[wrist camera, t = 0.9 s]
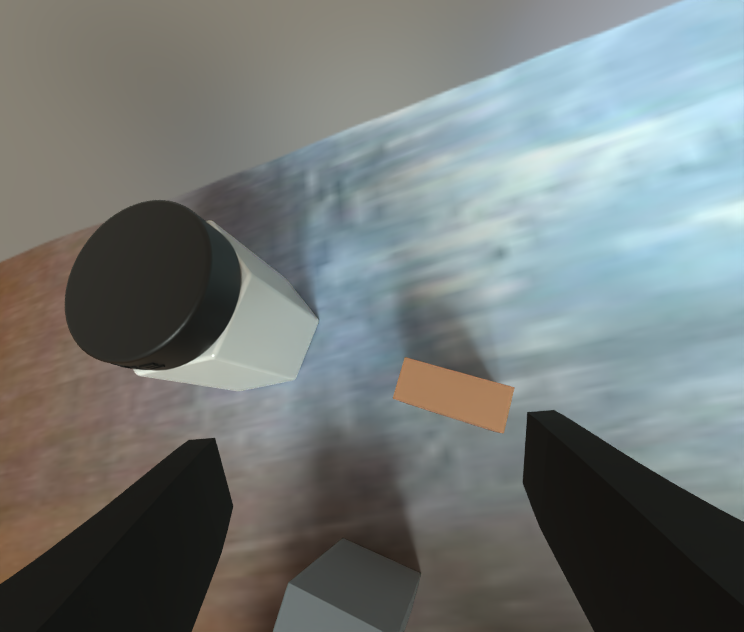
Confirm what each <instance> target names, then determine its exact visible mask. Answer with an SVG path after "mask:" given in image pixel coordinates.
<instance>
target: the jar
mask: <svg viewBox="0 0 744 632" xmlns="http://www.w3.org/2000/svg"><path fill="white" fill-rule="evenodd" d="M65 315H66V321H67V324H68V328H69V330H70V333H71V335H72V337H73V338H74V340H75V341H76V343H77V344H78V345H79V347H80V348H81V349H82V350H83V351H85V352H86V353H87V354H88V355H90V356H92V357H93V358H95V359H98V360H100V361H103V362H107V363H111V364H114V365H118V366H120V367H125V368H130V369H133V370H134V372H135V373H136V375H138V376H143V377H150V378H156V379H163V380H169V381H175V382H182V383H188V384H194V385H201V386H207V387H214V388H220V389H226V390H233V391H244V390H248V389H253V388H258V387H263V386H268V385H273V384H278V383H283V382H288V381H293V380H295V379H296V377H297V375H298V372H299V370H300V367H301V365H302V362H303V360H304V357H305V355H306V352H307V350H308V347H309V345H310V342H311V340H312V337H313V335H314V332H315V330H316V328H317V325H318V322H319V320H318V318H317V317H316V316H315V314H314V313H313V312H312V311H311V309H310V308H309V307H308V306H307V304H306V303H305V302H304V301H303V299H302V298H301V297H300V295H299V294H298V293H297V292H296V290H295V289H294V288H293V287H292V285H291V284H290V283H289V282H288V280H287V279H286V278H284V277H283V276H282V275H281V274H279V273H278V272H277V271H276V270H274V269H273V268H272V267H270V266H269V265H268V264H267V263H265V262H264V261H263V260H262V259H260V258H259V257H258V256H257V255H255V254H254V253H253V252H251V251H250V250H249V249H248V248H246V247H245V246H244V245H243V244H241V243H240V242H239V241H237V240H236V239H235V238H234V237H232V236H231V235H230V234H229V233H227V232H226V231H225V230H224V229H222V228H221V227H220V226H218V225H217V224H216V223H215V222H213V221H211V220H208V221H205V220H203V219H202V218H201V217H200V216H198V215H197V214H196V213H194V212H193V211H192V210H190V209H189V208H187V207H185V206H183V205H181V204H179V203H176V202H172V201H165V200H153V201H146V202H141V203H138V204H135V205H133V206H130V207H128V208H126V209H124V210H122V211H120V212H119V213H117V214H115V215H114V216H112V217H111V218H110V219H108V220H107V221H106V222H105V223H104V224H102V225H101V226H100V227H99V228H98V229H97V230H96V231H95V233H94V234H93V235H92V236H91V237H90V238H89V240H88V241H87V242H86V244H85V245H84V247H83V248H82V250H81V251H80V253H79V255H78V257H77V259H76V261H75V263H74V265H73V267H72V270H71V273H70V276H69V279H68V283H67V287H66V294H65Z"/></svg>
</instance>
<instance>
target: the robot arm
mask: <svg viewBox="0 0 744 632" xmlns="http://www.w3.org/2000/svg"><path fill="white" fill-rule="evenodd" d="M523 485H524V488H525V490H526V493H527V496H528V498H529V501H530V504H531V506H532V509H533V512H534V514H535V517H536V519H537V522H538V524H539V527H540V529H541V531H542V533H543V535H544V536H545V538H546V540H547V542H548V544H549V546H550V548H551V550H552V552H553V554H554V556H555V558H556V560H557V562H558V564H559V565H560V567H561V569H562V571H563V573H564V575H565V577H566V579H567V581H568V582H569V584H570V586H571V588H572V590H573V592H574V594H575V596H576V598H577V600H578V601H579V603H580V605H581V607H582V609H583V611H584V613H585V615H586V617H587V618H588V620H589V622H590V624H591V626H592V628H593V630H594V632H744V522H743V521H741V520H739V519H737V518H735V517H733V516H731V515H730V514H728V513H726V512H724V511H722V510H720V509H718V508H716V507H715V506H713V505H711V504H709V503H707V502H706V501H704V500H702V499H700V498H698V497H697V496H695V495H693V494H691V493H690V492H688V491H686V490H684V489H682V488H681V487H679V486H677V485H675V484H674V483H672V482H670V481H668V480H667V479H665V478H663V477H662V476H660V475H658V474H657V473H655V472H653V471H652V470H650V469H648V468H647V467H645V466H643V465H642V464H640V463H638V462H637V461H635V460H634V459H632V458H630V457H629V456H627V455H625V454H624V453H622V452H621V451H619V450H618V449H616V448H614V447H613V446H611V445H610V444H608V443H606V442H605V441H603V440H602V439H600V438H599V437H597V436H595V435H594V434H592V433H591V432H589V431H588V430H586V429H585V428H583V427H581V426H580V425H578V424H577V423H575V422H573V421H572V420H570V419H569V418H567V417H565V416H564V415H562V414H560V413H558V412H557V411H555V410H549V411H537V412H527V426H526V441H525V456H524V471H523ZM232 510H233V503H232V500H231V496H230V492H229V488H228V485H227V481H226V477H225V473H224V470H223V466H222V462H221V458H220V455H219V451H218V447H217V444H216V440H215V438H208V439H196V440H188V441H187V442H186V443H184V444H183V445H181V446H180V447H179V448H177V449H176V450H175V451H173V452H172V453H171V454H170V455H168V456H167V457H166V458H165V459H163V460H162V461H161V462H160V463H158V464H157V465H156V466H155V467H154V468H152V469H151V470H150V471H149V472H147V473H146V474H145V475H144V476H143V477H141V478H140V479H139V480H138V481H136V482H135V483H134V484H133V485H131V486H130V487H129V488H128V489H126V490H125V491H124V492H123V493H122V494H120V495H119V496H118V497H117V498H115V499H114V500H113V501H112V502H110V503H109V504H108V505H107V506H105V507H104V508H103V509H102V510H100V511H99V512H98V513H97V514H95V515H94V516H93V517H91V518H90V519H89V520H87V521H86V522H85V523H83V524H82V525H81V526H79V527H78V528H77V529H75V530H74V531H73V532H72V533H70V534H69V535H68V536H66V537H65V538H64V539H62V540H61V541H60V542H58V543H57V544H56V545H54V546H53V547H52V548H50V549H49V550H48V551H47V552H45V553H44V554H42V555H41V556H40V557H38V558H37V559H36V560H34V561H33V562H31V563H30V564H29V565H27V566H26V567H24V568H23V569H22V570H20V571H19V572H17V573H16V574H14V575H13V576H12V577H10V578H9V579H7V580H6V581H4V582H3V583H1V584H0V632H192V629H193V627H194V624H195V621H196V619H197V616H198V614H199V611H200V608H201V606H202V603H203V601H204V598H205V595H206V593H207V590H208V588H209V585H210V582H211V580H212V577H213V574H214V572H215V569H216V566H217V564H218V561H219V558H220V555H221V553H222V549H223V545H224V542H225V538H226V534H227V530H228V526H229V522H230V518H231V514H232Z"/></svg>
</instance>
